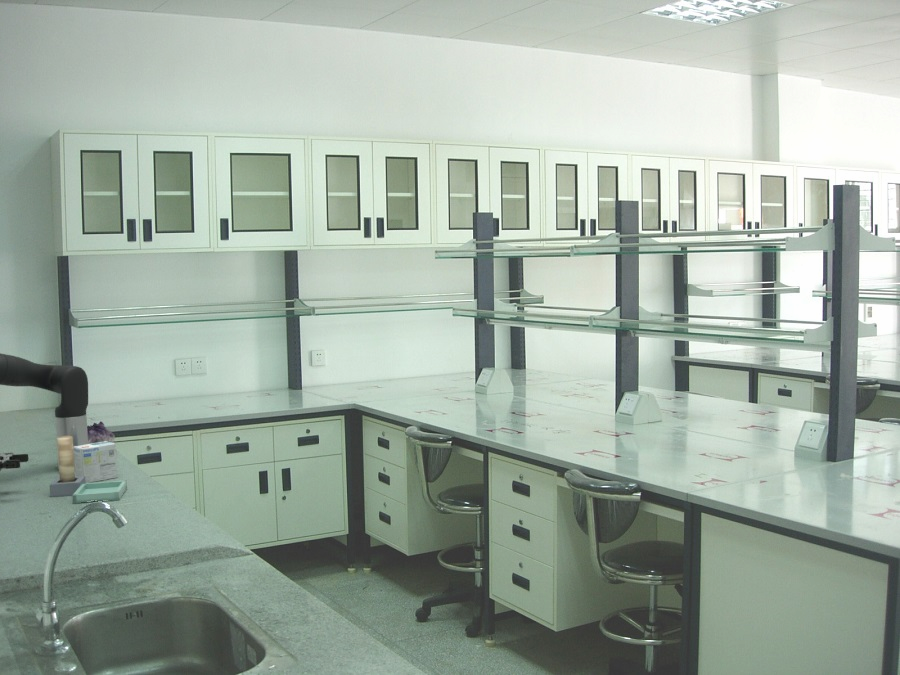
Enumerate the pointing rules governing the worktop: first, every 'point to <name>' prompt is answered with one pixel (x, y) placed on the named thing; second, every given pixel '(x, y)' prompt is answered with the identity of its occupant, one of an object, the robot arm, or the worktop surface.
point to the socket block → (65, 487)
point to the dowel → (66, 459)
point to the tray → (100, 491)
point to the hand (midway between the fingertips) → (24, 460)
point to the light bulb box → (95, 461)
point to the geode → (99, 434)
